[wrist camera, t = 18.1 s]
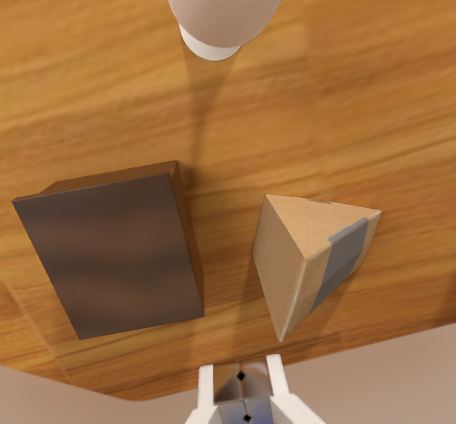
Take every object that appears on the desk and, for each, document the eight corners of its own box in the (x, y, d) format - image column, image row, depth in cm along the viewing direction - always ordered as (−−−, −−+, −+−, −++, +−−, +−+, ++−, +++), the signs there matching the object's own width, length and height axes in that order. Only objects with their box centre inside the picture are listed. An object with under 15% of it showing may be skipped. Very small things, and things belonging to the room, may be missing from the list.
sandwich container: (361, 267, 42) (439, 357, 28) (250, 255, 40) (277, 346, 26) (383, 209, 39) (484, 278, 25) (265, 192, 37) (304, 258, 23)
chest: (54, 181, 34) (22, 203, 28) (176, 159, 35) (171, 177, 28) (100, 295, 40) (82, 334, 34) (203, 276, 41) (204, 311, 34)
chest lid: (16, 197, 27) (11, 200, 27) (169, 169, 28) (168, 172, 27) (82, 334, 34) (79, 340, 33) (204, 311, 34) (204, 317, 34)
